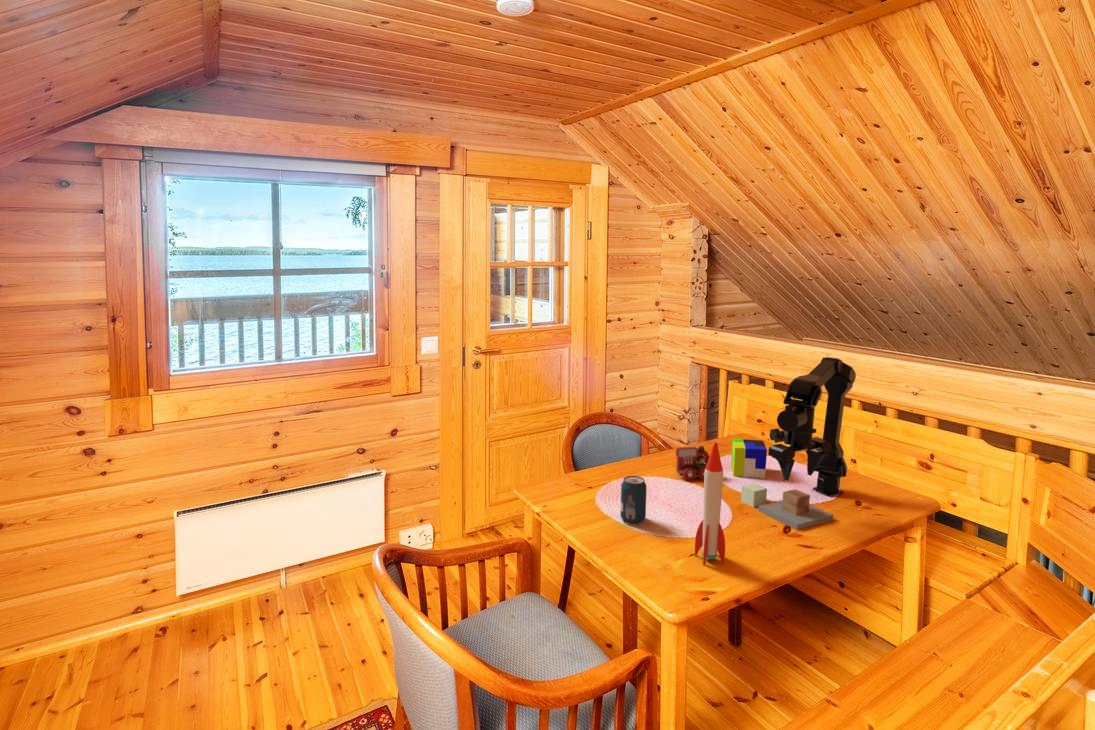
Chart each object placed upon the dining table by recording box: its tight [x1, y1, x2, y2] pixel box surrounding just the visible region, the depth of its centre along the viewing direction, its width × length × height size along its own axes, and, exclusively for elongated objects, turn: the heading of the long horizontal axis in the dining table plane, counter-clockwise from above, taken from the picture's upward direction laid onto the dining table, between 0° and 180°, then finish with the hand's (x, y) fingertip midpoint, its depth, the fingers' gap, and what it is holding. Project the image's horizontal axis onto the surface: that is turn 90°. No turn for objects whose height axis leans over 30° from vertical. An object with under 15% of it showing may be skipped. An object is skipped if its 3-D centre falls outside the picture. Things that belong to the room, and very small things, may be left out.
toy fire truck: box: [675, 445, 710, 482], centre depth 210 cm, size 7×12×10 cm, turn 100°
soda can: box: [620, 475, 647, 525], centre depth 176 cm, size 7×7×12 cm
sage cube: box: [740, 482, 768, 508], centre depth 189 cm, size 5×5×5 cm
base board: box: [758, 499, 834, 531], centre depth 181 cm, size 14×14×2 cm
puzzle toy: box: [730, 438, 768, 479], centre depth 214 cm, size 10×10×10 cm
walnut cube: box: [782, 488, 811, 515], centre depth 180 cm, size 5×5×5 cm
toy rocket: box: [694, 441, 726, 566], centre depth 153 cm, size 6×6×30 cm
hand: (797, 477), depth 179 cm, fingers open, 9 cm apart
